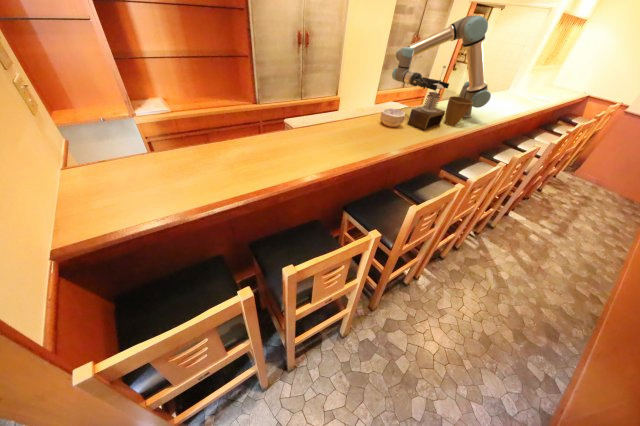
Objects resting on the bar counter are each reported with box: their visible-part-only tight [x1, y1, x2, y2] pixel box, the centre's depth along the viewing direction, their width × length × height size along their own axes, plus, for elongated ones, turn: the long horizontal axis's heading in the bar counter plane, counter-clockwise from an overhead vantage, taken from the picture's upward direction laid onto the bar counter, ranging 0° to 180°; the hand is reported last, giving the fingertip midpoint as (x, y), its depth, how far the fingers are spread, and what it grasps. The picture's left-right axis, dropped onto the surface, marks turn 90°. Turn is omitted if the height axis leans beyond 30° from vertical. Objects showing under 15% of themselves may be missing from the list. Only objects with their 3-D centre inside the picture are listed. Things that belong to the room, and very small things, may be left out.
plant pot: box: [444, 95, 473, 126], centre depth 166 cm, size 15×15×16 cm
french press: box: [421, 65, 447, 112], centre depth 149 cm, size 10×12×25 cm
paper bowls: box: [379, 107, 406, 128], centre depth 157 cm, size 15×15×8 cm
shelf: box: [406, 106, 446, 132], centre depth 160 cm, size 19×13×10 cm
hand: (442, 87), depth 146 cm, fingers open, 13 cm apart
